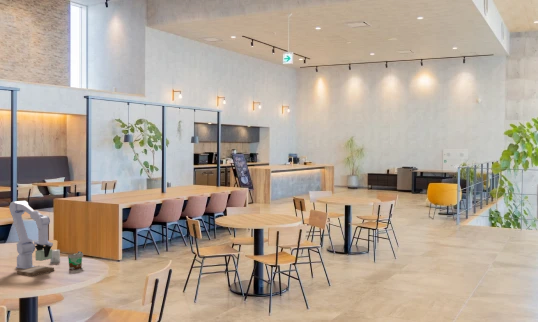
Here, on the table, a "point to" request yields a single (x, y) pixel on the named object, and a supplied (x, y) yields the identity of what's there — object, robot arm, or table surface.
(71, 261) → the food container
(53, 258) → the white rounded canister
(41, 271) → the walnut stand
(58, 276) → the table surface
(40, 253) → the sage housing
